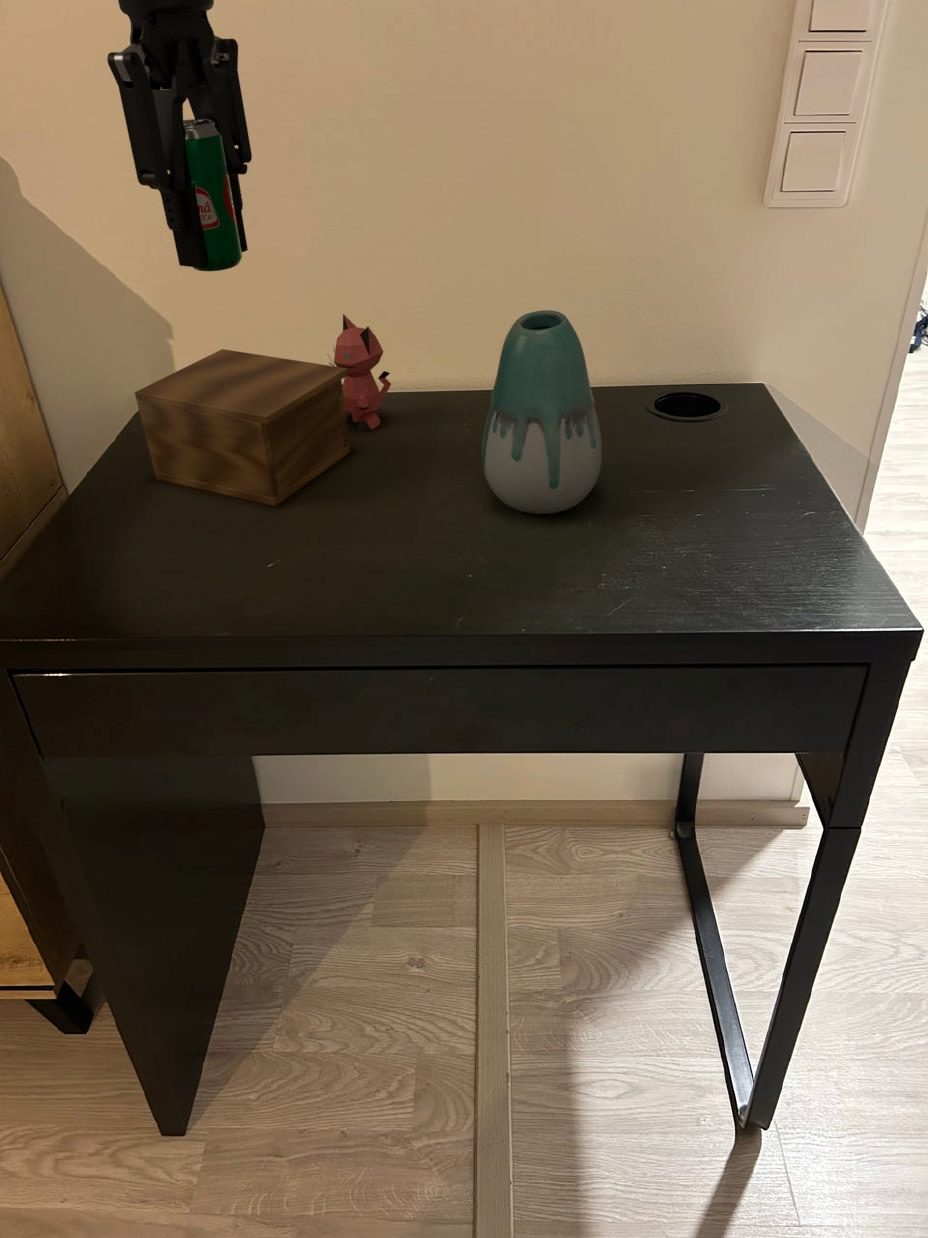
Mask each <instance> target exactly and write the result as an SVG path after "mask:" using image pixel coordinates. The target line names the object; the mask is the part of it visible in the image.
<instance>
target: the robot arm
mask: <svg viewBox="0 0 928 1238" xmlns="http://www.w3.org/2000/svg"><path fill="white" fill-rule="evenodd" d="M117 2H118V7H119V9H120V11H121V12H122V13H123V14H124V15H126V16H127V17H128V19H129V22H130V35H129V43H130V45H128V46H127V47H126V48H124V49H123V50H121V51H111V52H108V54H107V57H106V59H107V64H108V67H109V70H110V72H111V74H112V75H113V78H114V80H115V82H116V84H117V87H118V91H119V96H120V102H121V105H122V106H121V107H122V111H123V115H124V116H123V117H124V120H125V126H126V129H127V130H126V131H127V134H128V139H129V144H130V149H131V154H132V158H133V163H134V168H135V172H136V179H137V181H138V183H139V184H140V185H141V186H146V187H149V188H150V189H151V190H157V191H158V192H159V193H160V197H161V202H162V207H163V211H164V216H165V221H166V225H167V227H168V229H169V230H171V231H172V236H173V241H174V246H175V251H176V255H177V260H178V264H179V266H180V267H187V268H193V267H197V268H204V267H207V266H208V264H207V259H206V253H205V248H204V243H203V238H202V232H201V227H200V222H199V217H198V211H197V206H196V201H195V196H194V190H193V189H187V188H184V187H185V164H184V130H183V120H184V103H185V102H187V101H188V105H189V106H190V109H191V113H192V114H193V119H211V120H214V121H215V126H216V127H217V129H218V130H219V131H220V133H221V134H222V139H223V145H224V151H225V157H226V162H227V168H228V174H229V180H230V186H231V192H232V198H233V204H234V209H235V215H236V221H237V227H238V233H239V239H240V245H241V251H242V253H245V252H247V251H248V250H249V248H248V243H247V235H246V230H245V225H244V219H243V209H244V207H243V205H244V201H243V198H242V196H243V195H242V190H241V185H240V179H239V175H243V176H244V175H246V174H247V172H248V164H249V163H251V161H252V159H253V153H252V147H251V141H250V136H249V135H250V134H249V129H248V125H247V119H246V111H245V107H244V101H243V95H242V87H241V82H240V77H239V70H238V69H239V68H238V67H239V44H238V41H237V40H236V39H235V38H222V37H219V36H217V35H215V33H214V29H213V27H212V26H211V23H210V21H209V18H208V11H209V10H211V9H212V8H213V7H214V4H215V0H117ZM236 146H237V147H236ZM169 171H170V173H171V174H170V173H169Z"/></svg>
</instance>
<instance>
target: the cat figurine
mask: <svg viewBox="0 0 928 1238" xmlns="http://www.w3.org/2000/svg"><path fill="white" fill-rule="evenodd" d="M381 345H382V344H381V343H380V341H379V339H378V338H377V336H376V334H374V332H373V331H372V329H371V328H370V327H369V326H366V327H365V328H363V327H358V326H356V324H354V323H353V322H352V321H351V320H350V319H349V318H348V316H347V315H345V314H344V313H342V332H341V333H340V334H339V335H338V336H337V338H336V342H335V345H333V353H334V357H333V361H332V359H331V357H330V355H329V354H327V356H328V358H329V360H330V361H331V363H330V362H328V365H330V366H335V367H342V368H347V371H348V376H346V377H345V378H343V382H342V389H343V397H344V406H345V412H346V413H348V414H347V415H346V422H347V423H352V424H353V423H354V424H355V423H358V426H357V431H361V432H365V431H366V432H367V431H372V430H373V429H375V428H376V427H378V426H379V425H380V423H381V419H380V418H379V416H378V415H377V412H374V411H375V410H376V411H377V410H379V409H381V407H382V406H381V399H383V398H385V397H386V395H387V393H388V391H389V390H390V388H391V386H392V383H391V382H390V380H388V378H387V377H388V376H389V375H390V374H391V372H389V371H385V370H383V371H382V372H381V374H379V376H377V379H378V380H379V382H381V384H383V386H382V387H381V390H379V387H378V384H377V382H376V379H375V377H374V376H373V373H372V371H371V370H372V369H374V368H375V367H376V366H377V365H378V364H379V363H380V361H381V358H382V357H383V354H384V349H383V348H382V346H381Z"/></svg>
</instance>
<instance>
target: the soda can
mask: <svg viewBox="0 0 928 1238" xmlns="http://www.w3.org/2000/svg"><path fill="white" fill-rule="evenodd" d="M183 130H184V164H185V187H184V188H187V189H193V190H194V196H195V201H196V206H197V211H198V217H199V222H200V227H201V232H202V238H203V243H204V248H205V253H206V259H207V264H208V266H207V267H204V268H197V267H192V268H193V270H196V271H199V272H219V271H225V270H229V269H232V268H234V267H236V266H238V265H239V264H240V262H241V260H242V259H243V252H242V251H241V245H240V239H239V233H238V227H237V221H236V215H235V209H234V204H233V198H232V192H231V186H230V180H229V174H228V168H227V162H226V157H225V151H224V145H223V139H222V134H221V133H220V131H219V130H218V129H217V127H216V126H215V121H214V120H211V119H195V118H193V119H183ZM168 173H169V174H171V173H170V171H169V170H168Z"/></svg>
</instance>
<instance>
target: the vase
mask: <svg viewBox="0 0 928 1238" xmlns="http://www.w3.org/2000/svg"><path fill="white" fill-rule="evenodd" d="M597 409H598V408H597V404H596V400H595V398H594V394H593V391H592V387H591V383H590V377H589V372H588V367H587V363H586V358H585V353H584V349H583V346H582V342H581V340H580V337H579V335H578V333H577V331H576V329H575V328H574V326H573V324H572V322H571V321H570V320H569V318H567V316H566V315H565V314H564V313H561V312H560V311H557V310H550V309H547V310H546V309H545V310H543V309H542V310H535V311H532V312H528V313H526V314H523V315H521V316H520V317H519V318H517V319H516V320H515V321H514V322H513V324H512V325H511V326H510V329H509V330H508V332H507V334H506V336H505V338H504V341H503V344H502V348H501V352H500V357H499V361H498V365H497V371H496V377H495V381H494V385H493V388H492V391H491V397H490V405H489V408H488V411H487V416H486V419H485V425H484V429H483V435H482V442H481V464H482V470H483V474H484V475H483V476H484V478H485V481H486V483H487V486H488V487H489V488H490V490H491V491H492V493H493V494H494V496H495V497H496V498H497V499H498V500H499V501H501V502H502V503H503V504H504V505H506V506H507V507H509V508H511V509H513V510H516V511H519V512H520V513H521V512H522V513H526V514H533V515H551V514H557V513H560V512H564V511H567V510H569V509H572V508H574V507H575V506H578V505H579V504H580V503H582V501H584V500H585V499H586V498H587V497H588V496H589V494H591V492H592V490H593V489H594V488H595V485H596V484H597V482H598V480H599V477H600V474H601V471H602V465H603V441H602V431H601V426H600V420H599V415H598V410H597Z"/></svg>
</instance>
